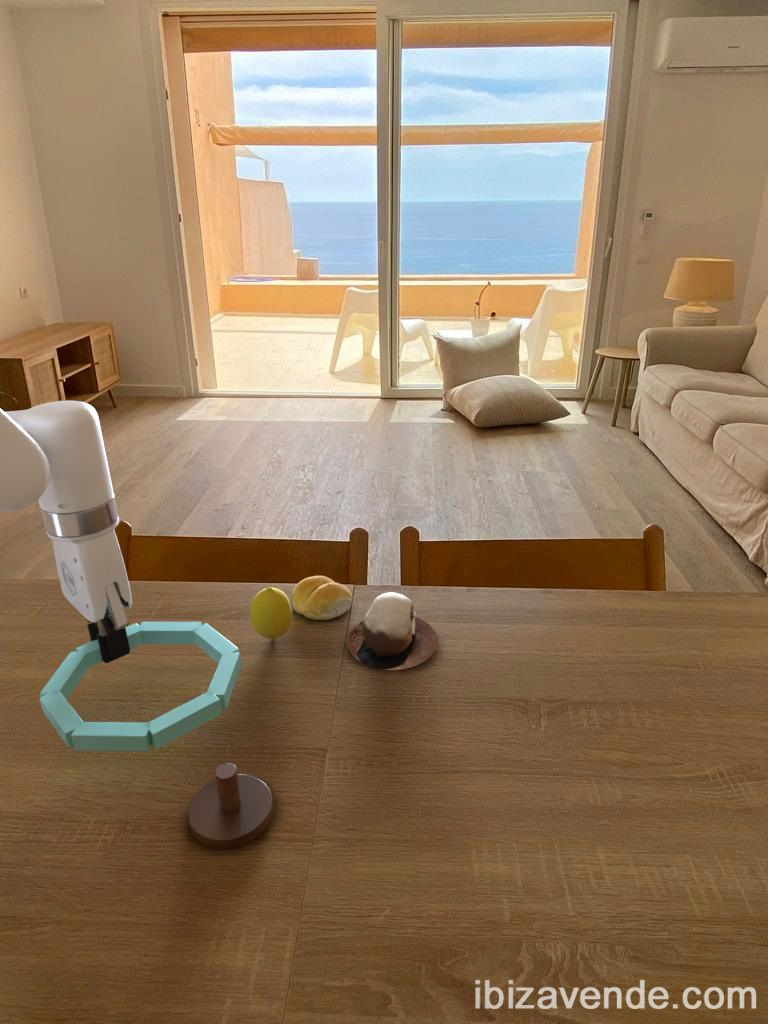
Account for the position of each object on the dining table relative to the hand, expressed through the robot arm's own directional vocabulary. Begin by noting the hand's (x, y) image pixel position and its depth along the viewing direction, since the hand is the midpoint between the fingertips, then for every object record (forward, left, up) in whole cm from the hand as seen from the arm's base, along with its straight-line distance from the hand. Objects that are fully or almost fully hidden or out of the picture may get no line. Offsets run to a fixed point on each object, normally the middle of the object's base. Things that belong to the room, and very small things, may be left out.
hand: (111, 651), depth 84 cm
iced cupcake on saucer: (+31, -17, -5) cm, 35 cm away
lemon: (+20, -5, -5) cm, 21 cm away
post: (0, -27, -5) cm, 27 cm away
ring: (0, -9, 0) cm, 9 cm away
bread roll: (+30, -3, -5) cm, 30 cm away
